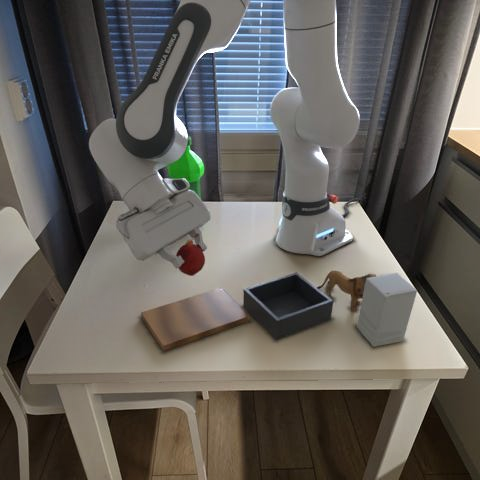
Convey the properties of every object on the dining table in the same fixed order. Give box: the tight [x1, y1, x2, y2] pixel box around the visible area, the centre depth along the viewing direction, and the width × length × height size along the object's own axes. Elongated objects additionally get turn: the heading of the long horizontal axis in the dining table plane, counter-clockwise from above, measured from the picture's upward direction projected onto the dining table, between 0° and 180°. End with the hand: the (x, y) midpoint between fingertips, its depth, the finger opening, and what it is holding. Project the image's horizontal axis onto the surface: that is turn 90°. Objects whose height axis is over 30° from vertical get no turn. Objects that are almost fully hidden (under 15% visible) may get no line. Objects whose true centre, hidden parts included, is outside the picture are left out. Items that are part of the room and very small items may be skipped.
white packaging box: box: [356, 272, 418, 348], centre depth 92 cm, size 7×7×13 cm
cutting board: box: [140, 287, 250, 352], centre depth 99 cm, size 20×13×2 cm, turn 120°
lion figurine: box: [316, 269, 377, 312], centre depth 103 cm, size 15×5×9 cm, turn 54°
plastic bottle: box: [166, 135, 205, 200], centre depth 131 cm, size 10×10×25 cm
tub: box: [242, 271, 334, 341], centre depth 100 cm, size 15×14×5 cm
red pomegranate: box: [175, 239, 206, 277], centre depth 90 cm, size 6×6×8 cm
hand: (192, 258), depth 90 cm, fingers closed on red pomegranate, 6 cm apart
